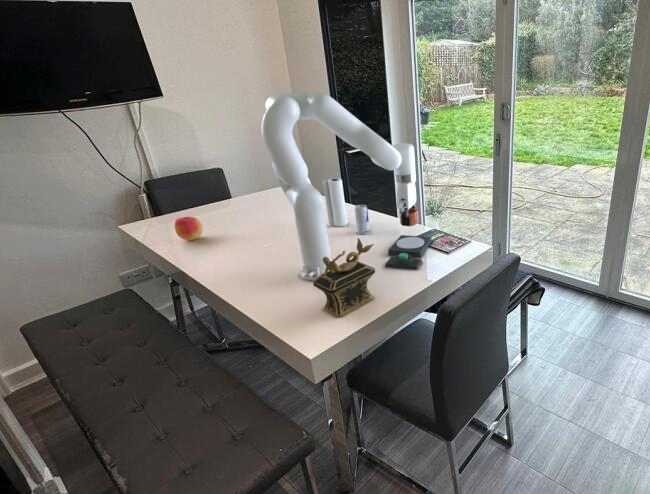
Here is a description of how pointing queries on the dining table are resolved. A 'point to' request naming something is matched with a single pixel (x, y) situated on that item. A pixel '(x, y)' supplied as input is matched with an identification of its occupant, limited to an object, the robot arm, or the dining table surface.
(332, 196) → the paper towel roll
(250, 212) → the dining table surface
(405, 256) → the tare button
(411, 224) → the bowl
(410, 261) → the scale panel
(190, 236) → the apple
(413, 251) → the scale
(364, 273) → the decorative box
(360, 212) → the energy drink
